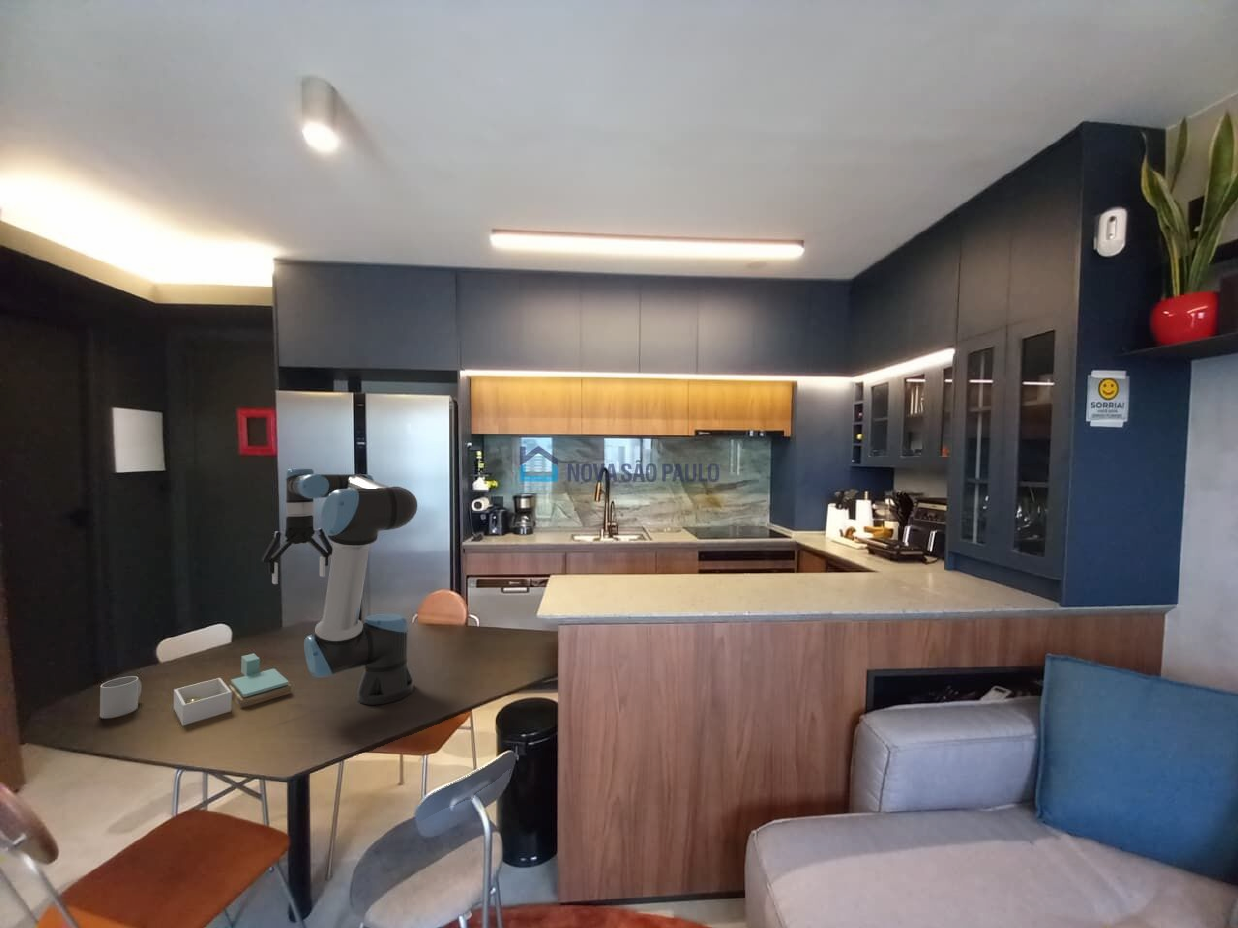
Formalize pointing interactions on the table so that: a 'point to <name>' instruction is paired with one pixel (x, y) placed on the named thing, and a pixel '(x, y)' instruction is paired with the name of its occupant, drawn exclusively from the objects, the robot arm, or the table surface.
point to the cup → (119, 696)
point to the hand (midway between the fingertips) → (299, 579)
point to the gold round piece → (193, 699)
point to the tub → (202, 701)
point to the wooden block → (258, 695)
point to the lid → (256, 677)
